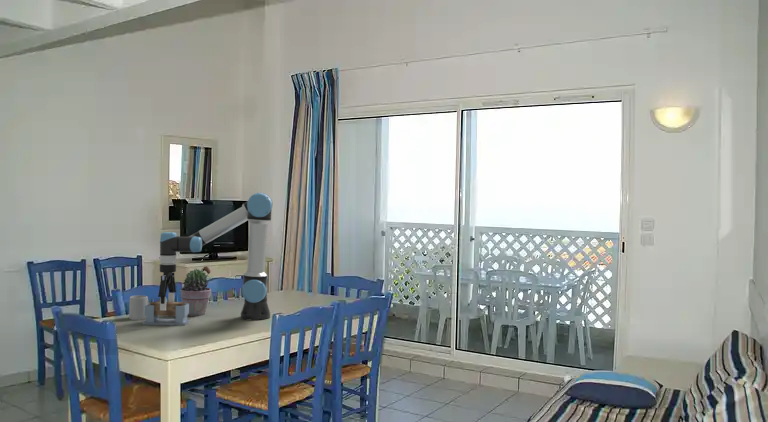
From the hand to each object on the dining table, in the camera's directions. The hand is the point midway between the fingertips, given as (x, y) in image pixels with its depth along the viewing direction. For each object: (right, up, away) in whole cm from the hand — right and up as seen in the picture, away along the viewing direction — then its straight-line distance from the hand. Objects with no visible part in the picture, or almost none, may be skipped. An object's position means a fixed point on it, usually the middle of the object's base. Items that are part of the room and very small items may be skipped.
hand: (167, 308), depth 304 cm
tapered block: (0, -3, 0) cm, 3 cm away
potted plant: (+6, -7, +23) cm, 25 cm away
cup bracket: (0, -7, 0) cm, 7 cm away
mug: (-18, -7, +12) cm, 22 cm away
